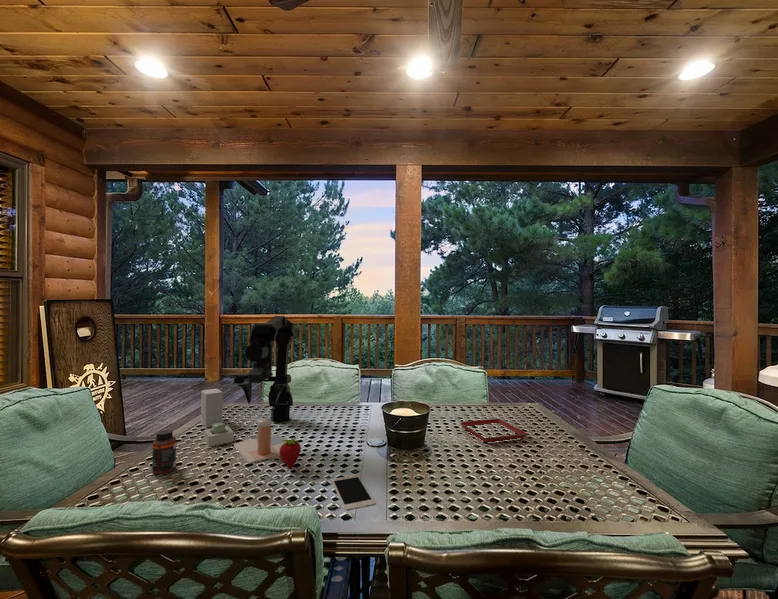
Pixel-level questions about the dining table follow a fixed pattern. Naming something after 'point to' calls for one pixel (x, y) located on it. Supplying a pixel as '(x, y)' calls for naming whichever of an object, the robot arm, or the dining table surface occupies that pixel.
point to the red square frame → (472, 423)
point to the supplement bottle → (164, 452)
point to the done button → (218, 428)
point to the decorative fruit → (290, 452)
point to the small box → (211, 407)
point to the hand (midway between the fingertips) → (262, 403)
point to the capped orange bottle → (264, 436)
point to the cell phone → (352, 492)
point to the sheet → (251, 449)
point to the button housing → (218, 437)
